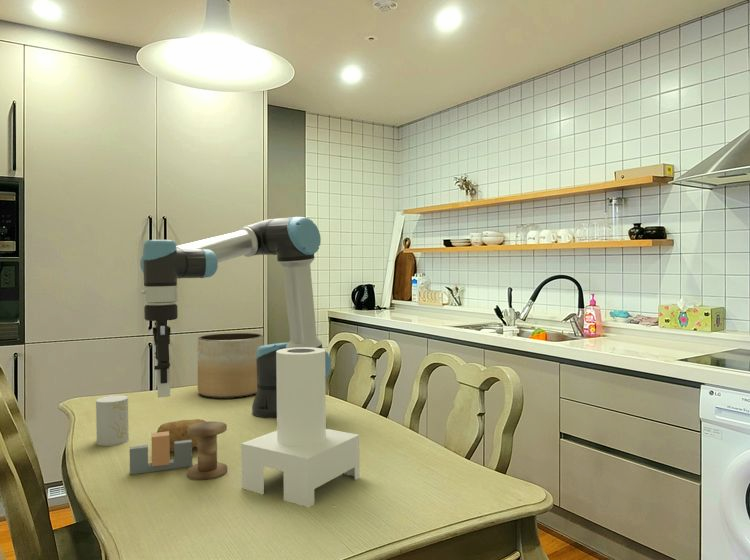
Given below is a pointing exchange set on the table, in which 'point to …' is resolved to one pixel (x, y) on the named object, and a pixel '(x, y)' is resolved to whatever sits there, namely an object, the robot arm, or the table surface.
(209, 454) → the bobbin
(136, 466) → the gray board
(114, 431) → the cup
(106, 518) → the table surface
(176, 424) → the potato
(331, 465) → the paper towel holder
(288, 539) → the table surface
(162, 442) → the orange brown tapered block
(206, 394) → the planter
